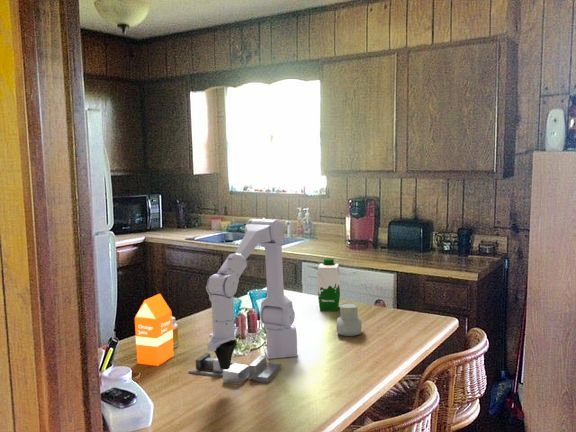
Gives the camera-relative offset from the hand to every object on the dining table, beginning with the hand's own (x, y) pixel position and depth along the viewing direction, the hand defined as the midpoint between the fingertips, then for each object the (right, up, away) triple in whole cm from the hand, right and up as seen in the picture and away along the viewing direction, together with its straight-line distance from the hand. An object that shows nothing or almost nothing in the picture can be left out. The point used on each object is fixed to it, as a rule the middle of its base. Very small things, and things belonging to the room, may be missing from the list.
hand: (225, 368), depth 144 cm
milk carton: (+34, +3, +74) cm, 81 cm away
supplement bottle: (-22, -3, +35) cm, 42 cm away
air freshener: (+38, 0, +43) cm, 57 cm away
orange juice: (-24, -4, +24) cm, 34 cm away
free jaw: (-5, -4, +15) cm, 16 cm away
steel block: (+2, -5, +7) cm, 9 cm away
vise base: (+1, -4, +12) cm, 13 cm away
